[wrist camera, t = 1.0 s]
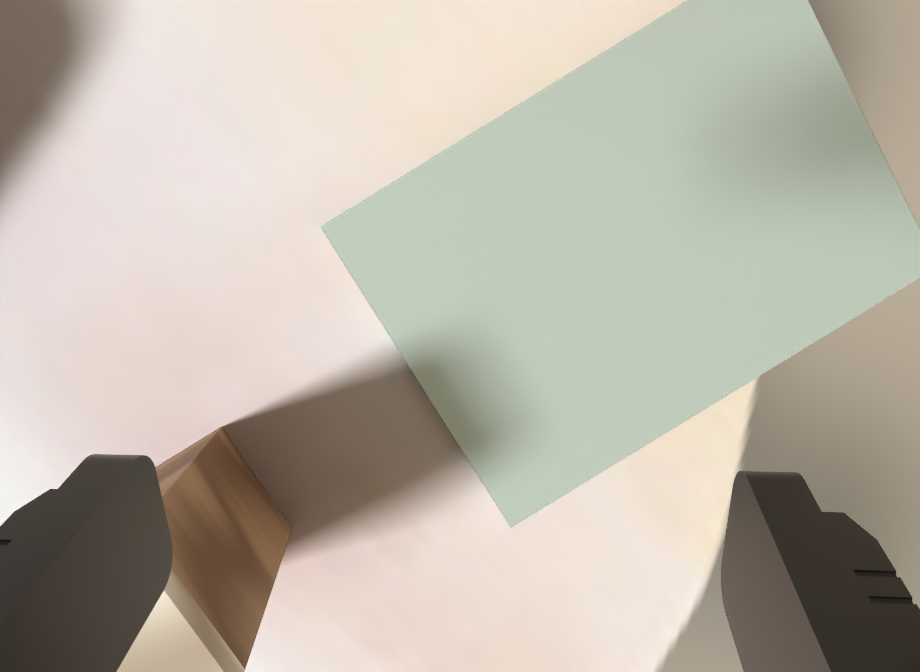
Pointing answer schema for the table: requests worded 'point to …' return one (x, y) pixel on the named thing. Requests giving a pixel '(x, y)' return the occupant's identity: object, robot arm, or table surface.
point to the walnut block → (211, 563)
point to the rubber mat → (633, 243)
